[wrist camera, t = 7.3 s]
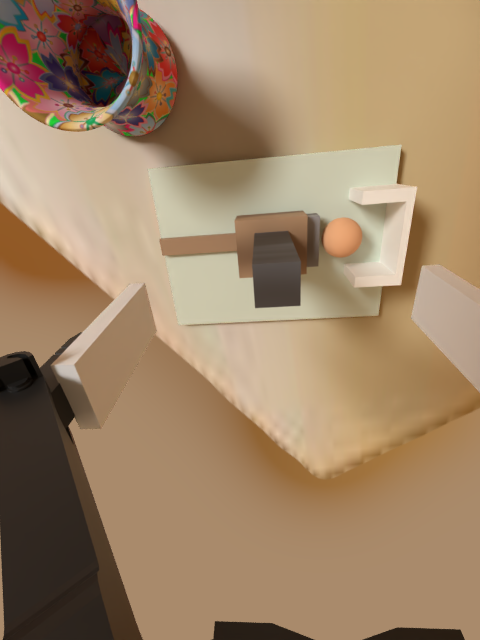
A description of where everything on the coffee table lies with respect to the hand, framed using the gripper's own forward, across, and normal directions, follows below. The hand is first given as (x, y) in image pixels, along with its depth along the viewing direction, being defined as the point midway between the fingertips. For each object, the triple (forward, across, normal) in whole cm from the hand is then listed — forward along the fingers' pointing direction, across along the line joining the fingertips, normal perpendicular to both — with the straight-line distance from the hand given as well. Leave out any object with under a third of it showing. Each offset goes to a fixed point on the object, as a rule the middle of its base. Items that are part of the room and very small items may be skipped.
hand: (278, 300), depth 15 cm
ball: (+14, +6, -1) cm, 16 cm away
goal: (+17, +9, -1) cm, 20 cm away
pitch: (+17, 0, -2) cm, 17 cm away
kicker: (+15, +1, -1) cm, 15 cm away
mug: (+18, -12, +14) cm, 26 cm away
